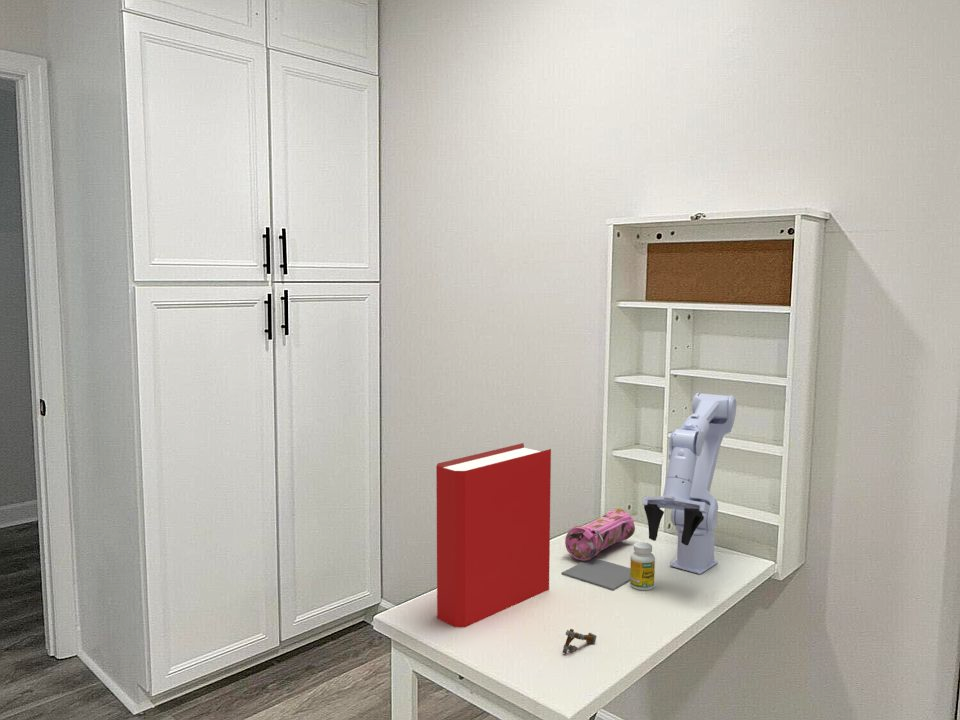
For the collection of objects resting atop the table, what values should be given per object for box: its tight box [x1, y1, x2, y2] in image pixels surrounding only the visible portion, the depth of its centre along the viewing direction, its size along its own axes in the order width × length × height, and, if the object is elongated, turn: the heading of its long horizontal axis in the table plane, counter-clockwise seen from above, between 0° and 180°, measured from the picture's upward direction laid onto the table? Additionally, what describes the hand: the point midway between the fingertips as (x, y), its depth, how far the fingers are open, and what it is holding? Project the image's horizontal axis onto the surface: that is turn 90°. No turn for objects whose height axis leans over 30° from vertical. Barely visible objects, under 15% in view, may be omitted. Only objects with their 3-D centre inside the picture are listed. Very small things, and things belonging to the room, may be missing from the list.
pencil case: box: [564, 507, 636, 562], centre depth 200 cm, size 21×9×9 cm, turn 142°
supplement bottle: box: [629, 541, 656, 591], centre depth 178 cm, size 5×5×10 cm
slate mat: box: [561, 556, 631, 591], centre depth 186 cm, size 13×14×1 cm
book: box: [435, 442, 552, 628], centre depth 168 cm, size 27×8×32 cm, turn 135°
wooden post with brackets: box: [562, 628, 598, 655], centre depth 150 cm, size 2×8×4 cm, turn 131°
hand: (668, 541), depth 171 cm, fingers open, 7 cm apart
